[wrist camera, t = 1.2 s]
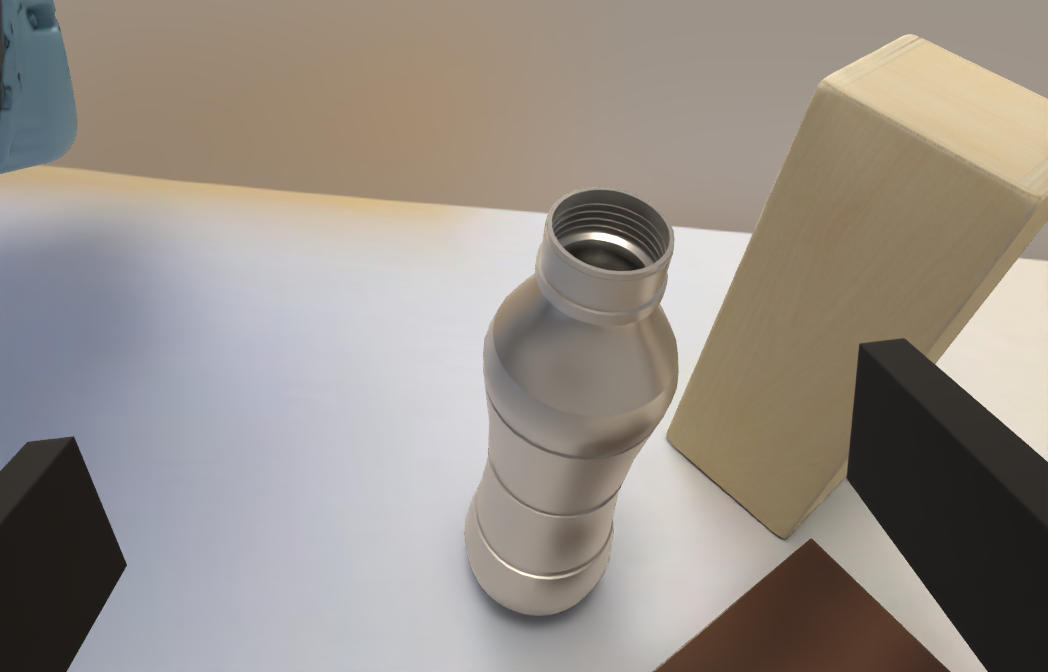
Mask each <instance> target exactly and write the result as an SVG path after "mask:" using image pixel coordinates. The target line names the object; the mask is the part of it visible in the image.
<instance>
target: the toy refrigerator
mask: <svg viewBox="0 0 1048 672" xmlns="http://www.w3.org/2000/svg"><path fill="white" fill-rule="evenodd" d="M1047 220H1048V99H1046V98H1044V97H1042V96H1040V95H1038V94H1036V93H1034V92H1032V91H1030V90H1028V89H1026V88H1024V87H1022V86H1020V85H1018V84H1016V83H1013V82H1011V81H1009V80H1007V79H1005V78H1003V77H1001V76H999V75H997V74H995V73H993V72H991V71H988V70H986V69H984V68H982V67H980V66H978V65H976V64H974V63H972V62H970V61H968V60H965V59H964V58H961V57H960V56H958V55H955V54H953V53H951V52H949V51H947V50H945V49H943V48H941V47H939V46H937V45H935V44H933V43H931V42H929V41H927V40H925V39H923V38H920V37H918V36H916V35H911V34H909V35H905V36H902V37H900V38H899V39H897V40H895V41H893V42H891V43H889V44H888V45H885V46H884V47H882V48H880V49H878V50H876V51H875V52H873V53H871V54H869V55H867V56H865V57H863V58H861V59H859V60H857V61H855V62H853V63H852V64H850V65H848V66H846V67H844V68H842V69H841V70H838V71H837V72H835V73H833V74H831V75H829V76H828V77H826V78H825V79H823V80H822V81H821V82H820V83H819V85H818V86H817V87H816V89H815V91H814V93H813V95H812V98H811V100H810V102H809V104H808V107H807V109H806V111H805V114H804V116H803V118H802V121H801V123H800V125H799V128H798V130H797V132H796V134H795V137H794V139H793V141H792V144H791V146H790V148H789V151H788V153H787V155H786V158H785V160H784V162H783V165H782V167H781V169H780V171H779V174H778V176H777V178H776V180H775V183H774V185H773V187H772V189H771V192H770V194H769V197H768V200H767V202H766V204H765V206H764V208H763V211H762V213H761V215H760V218H759V220H758V223H757V225H756V227H755V230H754V232H753V234H752V237H751V239H750V241H749V244H748V246H747V248H746V251H745V253H744V255H743V257H742V260H741V262H740V264H739V266H738V269H737V271H736V273H735V276H734V278H733V281H732V283H731V285H730V287H729V290H728V292H727V294H726V297H725V299H724V301H723V304H722V306H721V308H720V311H719V313H718V315H717V317H716V320H715V322H714V324H713V327H712V329H711V331H710V334H709V336H708V338H707V340H706V343H705V345H704V348H703V350H702V352H701V354H700V357H699V359H698V362H697V364H696V366H695V369H694V371H693V373H692V375H691V378H690V380H689V382H688V384H687V387H686V389H685V392H684V394H683V396H682V399H681V401H680V403H679V406H678V408H677V410H676V412H675V415H674V417H673V420H672V422H671V424H670V427H669V429H668V431H667V439H668V440H669V441H670V442H671V443H672V445H673V446H675V447H676V448H677V449H678V450H679V451H680V452H681V453H682V454H684V455H685V456H686V457H687V458H688V459H689V460H690V461H692V462H693V463H694V464H695V465H696V466H697V467H699V468H700V469H701V470H702V471H703V472H704V473H705V474H707V475H708V476H709V477H710V478H711V479H712V480H713V481H715V482H716V483H717V484H718V485H719V486H720V487H722V488H723V489H724V490H725V491H726V492H727V493H728V494H730V495H731V496H732V497H733V498H734V499H735V500H737V501H738V502H739V503H740V504H741V505H742V506H744V507H745V508H746V509H747V510H748V511H749V512H750V513H751V514H752V515H754V516H755V517H756V518H757V519H758V520H759V521H761V522H762V523H763V524H764V525H765V526H766V527H768V528H769V529H770V530H771V531H772V532H774V533H775V534H776V535H778V536H779V537H781V538H787V537H788V536H789V535H790V534H791V533H792V532H793V531H794V530H795V529H796V528H797V527H798V526H799V525H800V524H801V523H802V522H803V520H804V519H805V518H806V517H807V516H808V515H809V514H810V513H811V512H812V511H813V510H814V509H815V508H816V507H817V506H818V505H819V504H820V503H821V502H822V501H823V500H824V499H825V498H826V497H827V496H828V495H829V493H830V492H831V491H832V490H833V489H834V488H835V487H836V486H837V485H838V484H839V483H840V482H841V481H842V480H843V479H844V478H845V477H846V476H847V467H848V456H849V446H850V435H851V425H852V414H853V404H854V393H855V383H856V372H857V362H858V351H859V343H867V342H875V341H884V340H892V339H901V338H905V339H906V340H907V341H908V342H910V343H911V344H912V345H913V346H914V347H915V348H917V349H918V350H919V351H920V352H921V353H922V354H923V355H925V356H926V357H927V358H928V359H929V360H930V361H932V362H933V363H934V364H936V362H937V361H938V360H939V359H940V357H941V356H942V355H943V353H944V352H945V351H946V350H947V348H948V347H949V346H950V344H951V343H952V342H953V341H954V339H955V338H956V337H957V335H958V334H959V333H960V332H961V330H962V329H963V328H964V327H965V325H966V324H967V323H968V321H969V320H970V319H971V318H972V316H973V315H974V314H975V313H976V311H977V310H978V309H979V307H980V306H981V305H982V304H983V302H984V301H985V300H986V299H987V297H988V296H989V295H990V293H991V292H992V291H993V290H994V288H995V287H996V286H997V284H998V283H999V282H1000V281H1001V279H1002V278H1003V277H1004V275H1005V274H1006V273H1007V272H1008V270H1009V269H1010V268H1011V266H1012V265H1013V264H1014V263H1015V261H1016V260H1017V259H1018V257H1019V256H1020V255H1021V254H1022V252H1023V251H1024V250H1025V249H1026V247H1027V246H1028V244H1029V243H1030V242H1031V241H1032V239H1033V238H1034V237H1035V236H1036V234H1037V233H1038V232H1039V231H1040V229H1041V228H1042V227H1043V225H1044V224H1045V223H1046V222H1047Z"/></svg>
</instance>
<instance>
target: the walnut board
mask: <svg viewBox="0 0 1048 672" xmlns="http://www.w3.org/2000/svg"><path fill="white" fill-rule="evenodd" d="M653 672H950V671H949V670H948V669H947V668H946V667H945V666H944V665H943V664H942V663H941V662H940V661H939V660H938V659H937V658H935V657H934V656H933V655H932V654H931V653H930V652H929V651H928V650H927V649H926V648H925V647H924V646H923V645H922V644H921V643H920V642H919V641H918V640H917V639H916V638H915V637H914V636H913V635H912V634H911V633H909V632H908V631H907V630H906V629H905V628H904V627H903V626H902V625H901V624H900V623H899V622H898V621H897V620H896V619H895V618H894V617H893V616H892V615H891V614H890V613H889V612H888V611H887V610H886V609H884V608H883V607H882V606H881V605H880V604H879V603H878V602H877V601H876V600H875V599H874V598H873V597H872V596H871V595H870V594H869V593H868V592H867V591H866V590H865V589H864V588H863V587H862V586H861V585H860V584H858V583H857V582H856V581H855V580H854V579H853V578H852V577H851V576H850V575H849V574H848V573H847V572H846V571H845V570H844V569H843V568H842V567H841V566H840V565H839V564H838V563H837V562H836V561H835V560H834V559H832V558H831V557H830V556H829V555H828V554H827V553H826V552H825V551H824V550H823V549H822V548H821V547H820V546H819V545H818V544H817V543H816V542H815V541H814V540H813V539H809V540H808V541H807V542H806V543H805V544H804V545H802V546H801V547H800V548H799V549H798V550H796V551H795V552H794V553H793V554H792V555H790V556H789V557H788V558H787V559H786V560H785V561H783V562H782V563H781V564H780V565H779V566H777V567H776V568H775V569H774V570H773V571H771V572H770V573H769V574H768V575H767V576H766V577H764V578H763V579H762V580H761V581H760V582H758V583H757V584H756V585H755V586H754V587H752V588H751V589H750V590H749V591H748V592H747V593H745V594H744V595H743V596H742V597H741V598H739V599H738V600H737V601H736V602H735V603H733V604H732V605H731V606H730V607H729V608H727V609H726V610H725V611H724V612H723V613H722V614H720V615H719V616H718V617H717V618H716V619H714V620H713V621H712V622H711V623H710V624H708V625H707V626H706V627H705V628H704V629H703V630H701V631H700V632H699V633H698V634H697V635H695V636H694V637H693V638H692V639H691V640H689V641H688V642H687V643H686V644H685V645H684V646H682V647H681V648H680V649H679V650H678V651H676V652H675V653H674V654H673V655H672V656H670V657H669V658H668V659H667V660H666V661H665V662H663V663H662V664H661V665H660V666H659V667H657V668H656V669H655V670H654V671H653Z"/></svg>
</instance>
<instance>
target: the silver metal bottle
mask: <svg viewBox="0 0 1048 672" xmlns="http://www.w3.org/2000/svg"><path fill="white" fill-rule="evenodd" d="M673 249H674V233H673V229H672V227H671V224H670V222H669V221H668V219H667V218H666V216H665V215H664V214H663V213H662V212H661V211H660V210H659V209H658V208H657V207H656V206H655V205H653V204H652V203H650V202H649V201H647V200H646V199H644V198H642V197H640V196H638V195H636V194H633V193H630V192H627V191H624V190H620V189H616V188H607V187H589V188H582V189H578V190H575V191H572V192H569V193H568V194H566V195H564V196H562V197H561V198H560V199H559V200H557V201H556V202H555V203H554V205H553V206H552V207H551V209H550V211H549V214H548V216H547V219H546V222H545V228H544V235H543V242H542V243H541V245H540V247H539V250H538V253H537V258H536V265H535V274H534V275H532V276H530V277H529V278H528V279H527V280H525V281H524V282H523V283H522V284H520V285H519V286H518V287H517V288H516V289H514V290H513V291H512V292H511V293H510V294H509V295H508V296H507V297H506V298H505V300H504V301H503V303H502V304H501V306H500V307H499V309H498V311H497V313H496V314H495V316H494V318H493V320H492V321H491V323H490V325H489V328H488V331H487V334H486V336H485V340H484V351H483V373H484V380H485V388H486V397H487V406H488V414H489V444H488V445H489V448H488V458H487V462H486V466H485V470H484V473H483V477H482V481H481V483H480V484H479V486H478V488H477V490H476V492H475V493H474V496H473V499H472V502H471V505H470V507H469V511H468V514H467V517H466V521H465V532H464V536H465V544H466V550H467V554H468V558H469V561H470V564H471V567H472V570H473V573H474V575H475V577H476V579H477V580H478V582H479V584H480V586H481V587H482V588H483V589H484V590H485V591H486V593H487V594H488V595H489V596H490V597H492V598H493V599H494V600H495V601H497V602H498V603H499V604H500V605H502V606H504V607H506V608H508V609H510V610H512V611H515V612H519V613H522V614H526V615H537V616H543V615H551V614H556V613H559V612H562V611H564V610H567V609H569V608H570V607H572V606H574V605H575V604H577V603H578V602H579V601H581V600H582V599H583V598H584V597H585V596H586V595H587V594H588V593H589V592H590V591H591V590H592V588H593V587H594V586H595V585H596V584H597V583H598V581H599V580H600V578H601V577H602V575H603V574H604V572H605V569H606V567H607V564H608V562H609V558H610V552H611V546H612V538H613V515H614V510H615V506H616V501H617V496H618V492H619V490H620V488H621V485H622V483H623V481H624V479H625V477H626V475H627V473H628V471H629V469H630V467H631V465H632V462H633V460H634V459H635V457H636V456H637V454H638V453H639V451H640V450H641V448H642V447H643V446H644V444H645V443H646V441H647V440H648V438H649V437H650V435H651V434H652V432H653V431H654V430H655V428H656V427H657V425H658V424H659V422H660V421H661V420H662V418H663V417H664V415H665V413H666V411H667V409H668V407H669V405H670V403H671V401H672V399H673V396H674V394H675V391H676V388H677V381H678V352H677V344H676V339H675V336H674V333H673V331H672V328H671V325H670V323H669V321H668V319H667V317H666V315H665V313H664V311H663V309H662V307H661V305H660V302H661V300H662V298H663V295H664V292H665V289H666V285H667V278H668V275H667V270H668V267H669V264H670V261H671V258H672V255H673Z"/></svg>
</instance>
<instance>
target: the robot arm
mask: <svg viewBox="0 0 1048 672" xmlns="http://www.w3.org/2000/svg"><path fill="white" fill-rule="evenodd" d="M55 10H56V9H55V5H54V1H53V0H0V174H2V173H6V172H11V171H15V170H19V169H24V168H28V167H32V166H36V165H41V164H45V163H49V162H52V161H55V160H57V159H59V158H60V157H62V156H63V155H64V154H65V153H67V151H68V150H69V149H70V148H71V146H72V144H73V142H74V141H75V137H76V133H77V113H76V106H75V99H74V93H73V86H72V81H71V76H70V71H69V66H68V61H67V56H66V51H65V47H64V43H63V38H62V34H61V30H60V27H59V23H58V21H57V19H56V18H55ZM847 480H848V481H849V482H850V484H851V485H852V487H853V488H854V489H855V491H856V492H857V493H858V495H859V496H860V498H861V499H862V500H863V502H864V503H865V504H866V506H867V507H868V508H869V510H870V511H871V513H872V514H873V515H874V517H875V518H876V519H877V521H878V522H879V524H880V525H881V526H882V528H883V529H884V530H885V532H886V533H887V535H888V536H889V537H890V539H891V540H892V541H893V543H894V544H895V545H896V547H897V548H898V550H899V551H900V552H901V554H902V555H903V556H904V558H905V559H906V561H907V562H908V563H909V565H910V566H911V567H912V569H913V570H914V571H915V573H916V574H917V576H918V577H919V578H920V580H921V581H922V582H923V584H924V585H925V587H926V588H927V589H928V591H929V592H930V593H931V595H932V596H933V598H934V599H935V600H936V602H937V603H938V604H939V606H940V607H941V608H942V610H943V611H944V613H945V614H946V615H947V617H948V618H949V619H950V621H951V622H952V624H953V625H954V626H955V628H956V629H957V630H958V632H959V633H960V634H961V636H962V637H963V639H964V640H965V641H966V643H967V644H968V645H969V647H970V648H971V650H972V651H973V652H974V654H975V655H976V656H977V658H978V659H979V661H980V662H981V663H982V665H983V666H984V667H985V669H986V670H987V671H988V672H1048V462H1047V461H1046V460H1045V459H1044V458H1043V457H1041V456H1040V455H1039V454H1038V453H1037V452H1036V451H1034V450H1033V449H1032V448H1031V447H1030V446H1029V445H1028V444H1026V443H1025V442H1024V441H1023V440H1022V439H1021V438H1019V437H1018V436H1017V435H1016V434H1015V433H1014V432H1013V431H1011V430H1010V429H1009V428H1008V427H1007V426H1006V425H1004V424H1003V423H1002V422H1001V421H1000V420H999V419H997V418H996V417H995V416H994V415H993V414H992V413H991V412H989V411H988V410H987V409H986V408H985V407H984V406H982V405H981V404H980V403H979V402H978V401H977V400H975V399H974V398H973V397H972V396H971V395H970V394H969V393H967V392H966V391H965V390H964V389H963V388H962V387H960V386H959V385H958V384H957V383H956V382H955V381H954V380H952V379H951V378H950V377H949V376H948V375H947V374H945V373H944V372H943V371H942V370H941V369H940V368H938V367H937V366H936V365H935V364H934V363H933V362H932V361H930V360H929V359H928V358H927V357H926V356H925V355H923V354H922V353H921V352H920V351H919V350H918V349H917V348H915V347H914V346H913V345H912V344H911V343H910V342H908V341H907V340H906V339H905V338H901V339H892V340H884V341H875V342H867V343H859V351H858V362H857V372H856V383H855V393H854V404H853V414H852V425H851V435H850V446H849V456H848V467H847ZM126 566H127V564H126V561H125V559H124V557H123V554H122V552H121V549H120V547H119V544H118V542H117V540H116V537H115V535H114V532H113V530H112V528H111V525H110V523H109V520H108V518H107V515H106V513H105V511H104V508H103V506H102V503H101V501H100V498H99V496H98V494H97V491H96V489H95V486H94V484H93V482H92V479H91V477H90V474H89V472H88V469H87V467H86V465H85V462H84V460H83V457H82V455H81V452H80V450H79V448H78V445H77V443H76V440H75V438H74V436H73V437H65V438H57V439H48V440H40V441H31V442H27V443H26V444H25V445H24V446H23V447H22V448H21V449H20V451H19V452H18V453H17V454H16V455H15V456H14V457H13V458H12V459H11V460H10V461H9V462H8V464H7V465H6V466H5V467H4V468H3V469H2V470H1V471H0V672H67V670H68V668H69V666H70V665H71V663H72V661H73V659H74V658H75V656H76V654H77V652H78V651H79V649H80V647H81V645H82V643H83V642H84V640H85V638H86V636H87V635H88V633H89V631H90V629H91V628H92V626H93V624H94V622H95V621H96V619H97V617H98V615H99V614H100V612H101V610H102V608H103V607H104V605H105V603H106V601H107V599H108V598H109V596H110V594H111V592H112V591H113V589H114V587H115V585H116V584H117V582H118V580H119V578H120V577H121V575H122V573H123V571H124V570H125V568H126Z"/></svg>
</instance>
